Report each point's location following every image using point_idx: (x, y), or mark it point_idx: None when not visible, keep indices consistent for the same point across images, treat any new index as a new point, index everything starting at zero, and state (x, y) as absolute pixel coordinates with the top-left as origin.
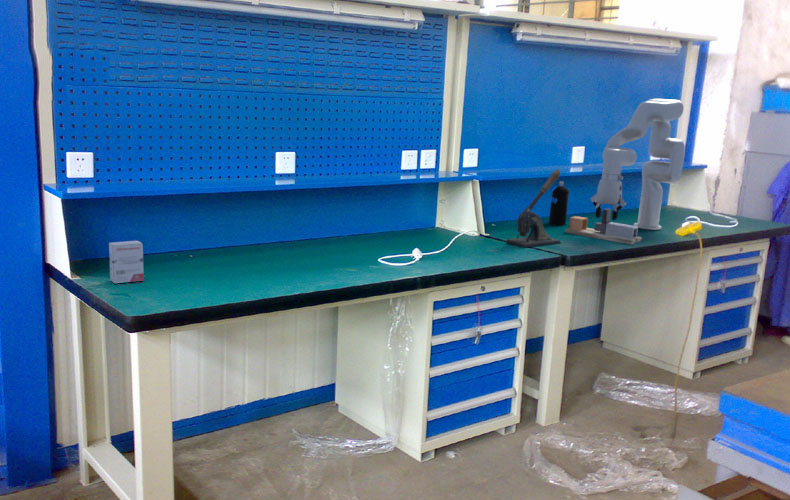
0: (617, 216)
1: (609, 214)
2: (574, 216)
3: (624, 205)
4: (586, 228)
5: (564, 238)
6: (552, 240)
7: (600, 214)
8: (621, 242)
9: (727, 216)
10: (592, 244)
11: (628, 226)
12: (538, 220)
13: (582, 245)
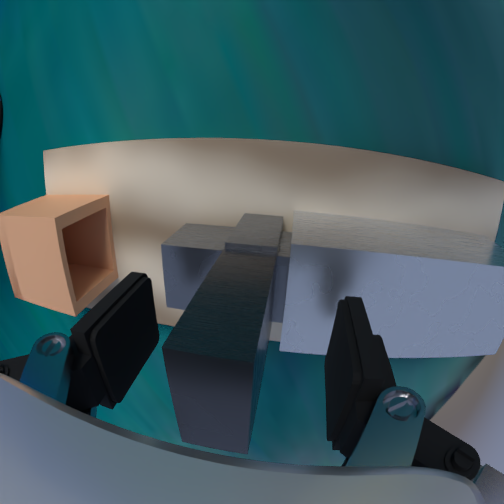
0: (383, 342)
1: (263, 341)
2: (2, 240)
3: (496, 486)
4: (106, 200)
5: (155, 405)
6: None
7: (137, 295)
8: None
9: None
10: (288, 437)
11: (468, 337)
12: None
13: (264, 458)
